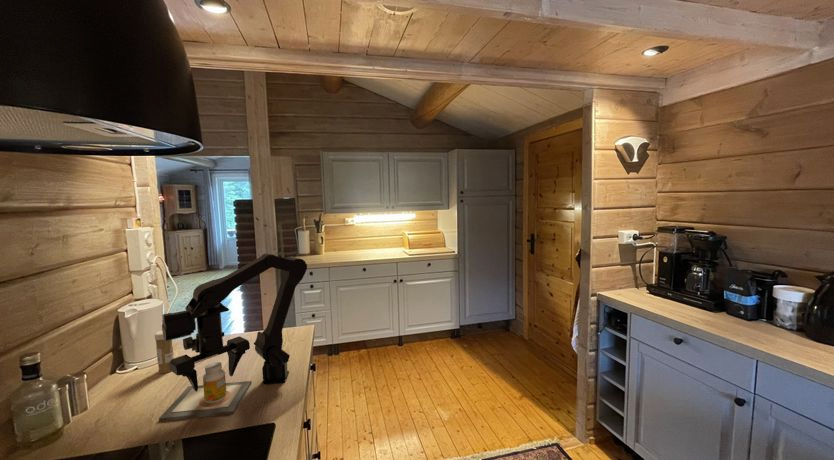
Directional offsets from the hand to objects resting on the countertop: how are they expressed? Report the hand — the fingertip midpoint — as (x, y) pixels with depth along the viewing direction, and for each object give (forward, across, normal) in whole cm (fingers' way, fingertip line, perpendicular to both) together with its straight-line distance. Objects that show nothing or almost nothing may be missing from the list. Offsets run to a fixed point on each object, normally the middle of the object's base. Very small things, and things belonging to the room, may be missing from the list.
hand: (214, 383), depth 96 cm
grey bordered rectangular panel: (+6, +1, -2) cm, 6 cm away
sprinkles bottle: (+6, +1, -32) cm, 33 cm away
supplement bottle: (+5, 0, 0) cm, 5 cm away
